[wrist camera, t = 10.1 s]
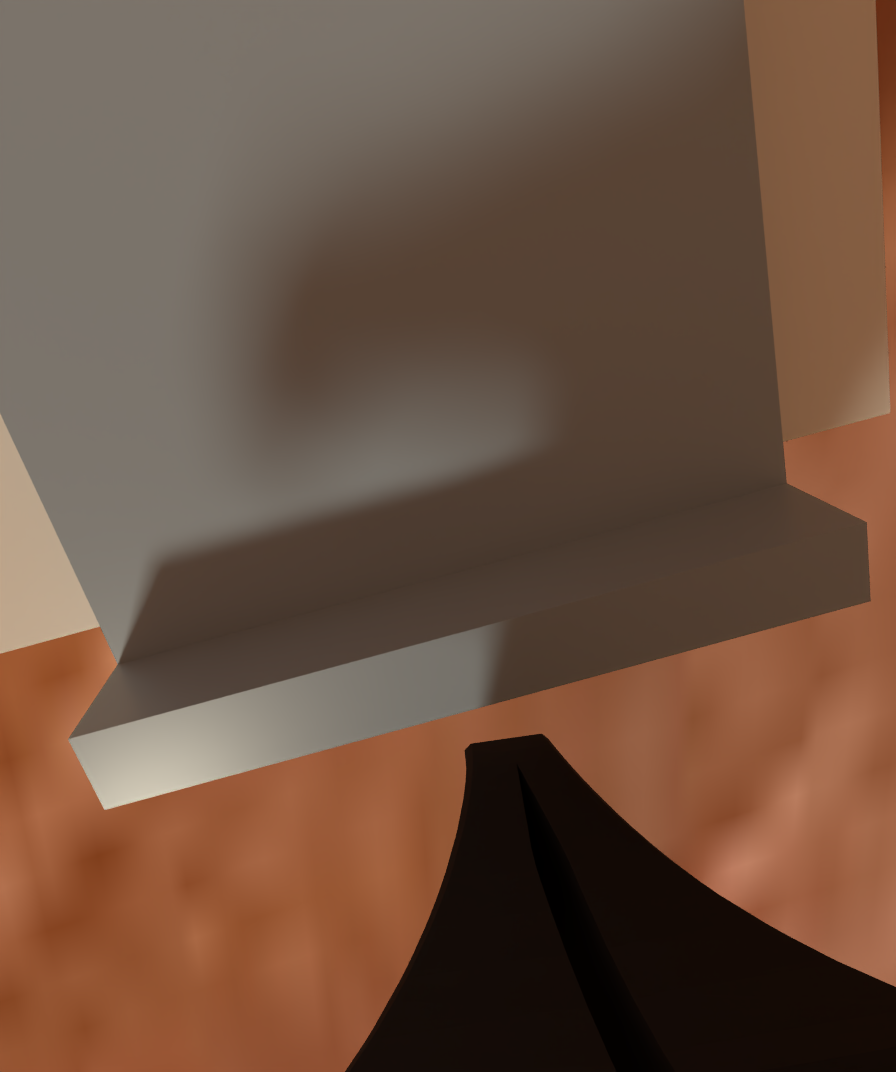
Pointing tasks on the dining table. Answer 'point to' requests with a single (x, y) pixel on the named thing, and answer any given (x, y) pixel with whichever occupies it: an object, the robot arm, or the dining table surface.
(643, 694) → the dining table surface
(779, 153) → the housing
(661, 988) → the robot arm
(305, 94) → the cover
